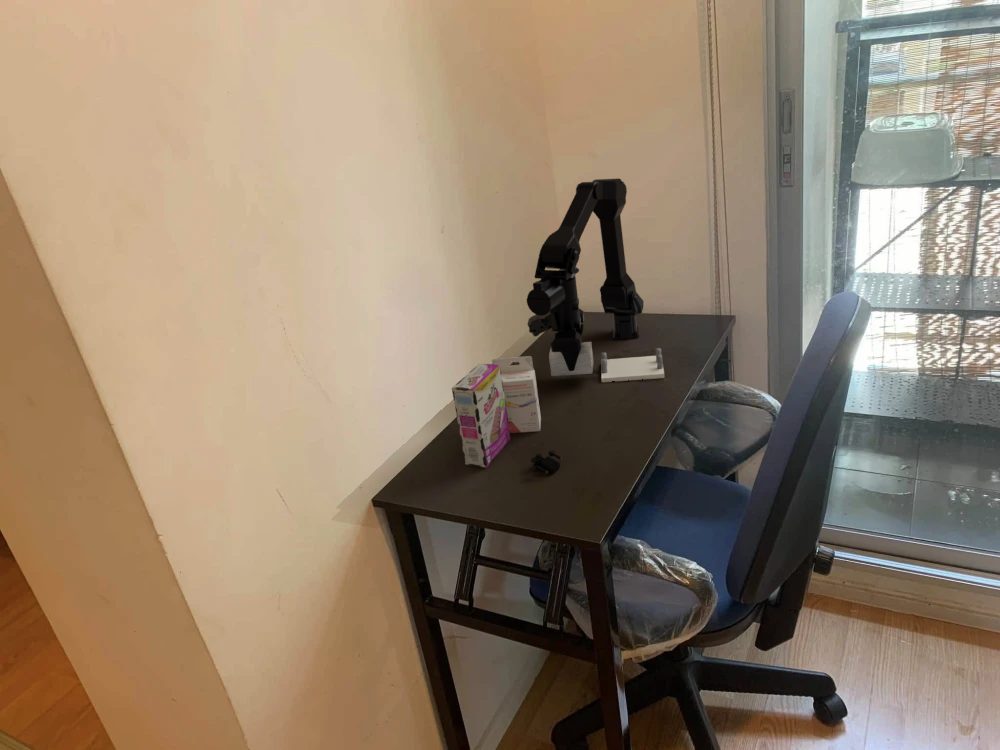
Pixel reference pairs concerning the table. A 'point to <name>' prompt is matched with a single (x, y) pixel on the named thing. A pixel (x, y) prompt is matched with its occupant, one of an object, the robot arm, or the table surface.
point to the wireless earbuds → (545, 463)
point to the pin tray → (632, 368)
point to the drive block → (582, 364)
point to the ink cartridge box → (520, 394)
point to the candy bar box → (481, 414)
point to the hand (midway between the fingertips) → (572, 364)
